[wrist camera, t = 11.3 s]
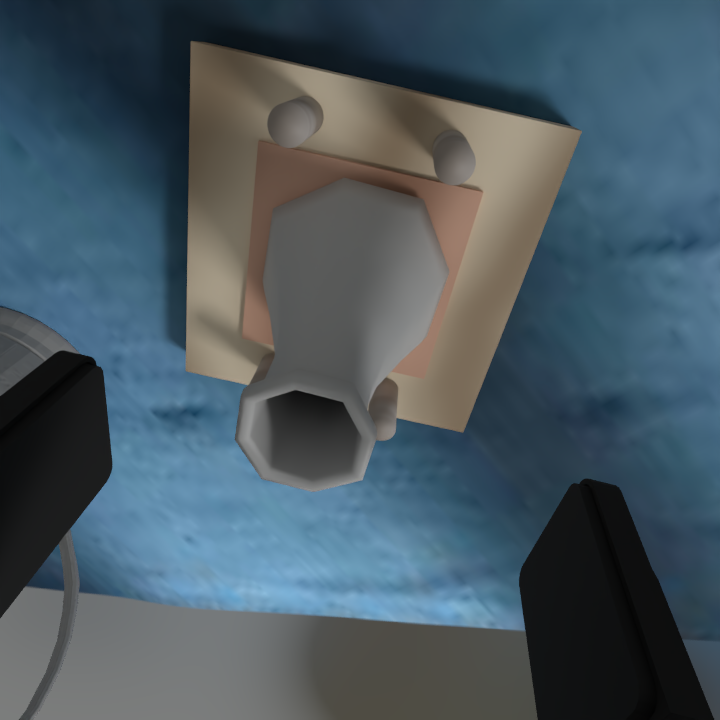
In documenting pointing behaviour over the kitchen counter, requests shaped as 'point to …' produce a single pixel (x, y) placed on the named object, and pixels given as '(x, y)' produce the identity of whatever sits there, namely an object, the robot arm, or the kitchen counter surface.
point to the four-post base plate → (371, 166)
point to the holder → (3, 370)
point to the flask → (337, 327)
